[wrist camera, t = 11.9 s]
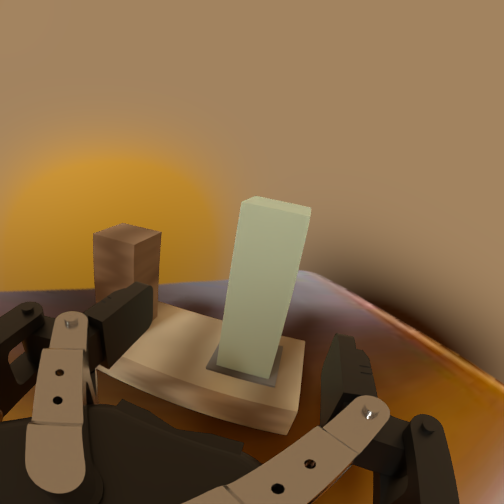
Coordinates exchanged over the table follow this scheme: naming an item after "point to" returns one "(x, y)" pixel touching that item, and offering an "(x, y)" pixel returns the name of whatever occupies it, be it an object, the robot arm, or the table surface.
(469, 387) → the table surface
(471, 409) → the table surface
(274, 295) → the pillar
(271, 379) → the base slab
